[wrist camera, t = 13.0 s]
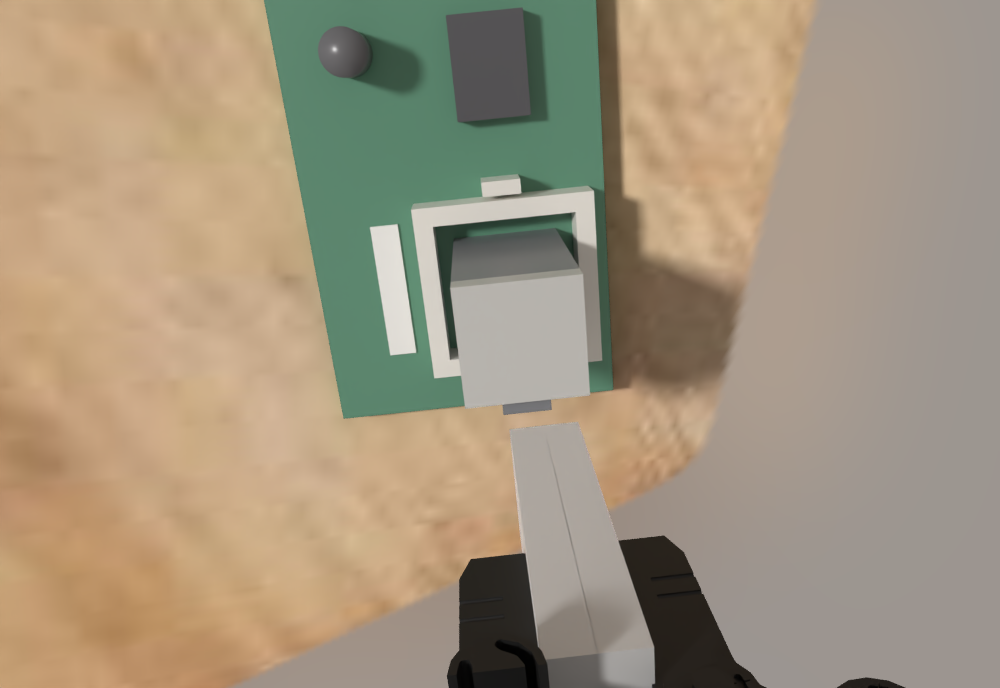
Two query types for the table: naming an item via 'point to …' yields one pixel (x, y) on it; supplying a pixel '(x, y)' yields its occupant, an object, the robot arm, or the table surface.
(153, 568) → the table surface
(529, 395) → the block
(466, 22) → the board
